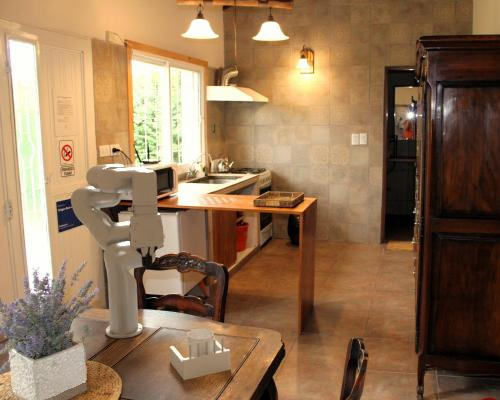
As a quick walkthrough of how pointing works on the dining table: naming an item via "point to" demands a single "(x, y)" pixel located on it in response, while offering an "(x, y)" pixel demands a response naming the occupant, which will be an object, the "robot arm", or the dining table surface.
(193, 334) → the white cup
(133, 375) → the dining table surface
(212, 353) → the drying rack
